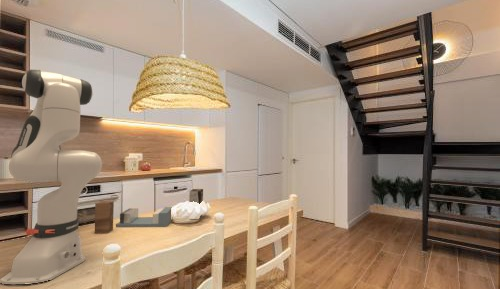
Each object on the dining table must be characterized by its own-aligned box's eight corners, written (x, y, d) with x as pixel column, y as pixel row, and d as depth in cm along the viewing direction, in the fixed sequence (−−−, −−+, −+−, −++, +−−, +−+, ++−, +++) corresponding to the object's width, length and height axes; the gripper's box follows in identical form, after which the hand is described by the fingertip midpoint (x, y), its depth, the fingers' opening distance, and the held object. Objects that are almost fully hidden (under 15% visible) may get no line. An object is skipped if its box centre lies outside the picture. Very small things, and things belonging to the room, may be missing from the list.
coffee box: (199, 219, 140) (200, 191, 141) (188, 219, 141) (189, 191, 141) (203, 215, 150) (203, 188, 150) (192, 215, 150) (193, 188, 150)
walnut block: (107, 233, 116) (108, 203, 116) (94, 233, 116) (95, 203, 116) (113, 229, 121) (113, 201, 121) (100, 229, 121) (101, 201, 121)
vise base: (166, 226, 127) (166, 213, 127) (115, 227, 125) (116, 213, 125) (172, 219, 140) (172, 207, 140) (126, 219, 138) (127, 207, 138)
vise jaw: (129, 223, 126) (130, 213, 127) (119, 223, 126) (120, 213, 126) (138, 217, 137) (138, 208, 138) (128, 217, 137) (129, 208, 137)
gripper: (41, 166, 110) (68, 174, 109) (80, 158, 130) (103, 164, 129) (41, 180, 111) (67, 187, 110) (79, 169, 131) (102, 175, 130)
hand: (87, 175), depth 119 cm, fingers open, 8 cm apart
